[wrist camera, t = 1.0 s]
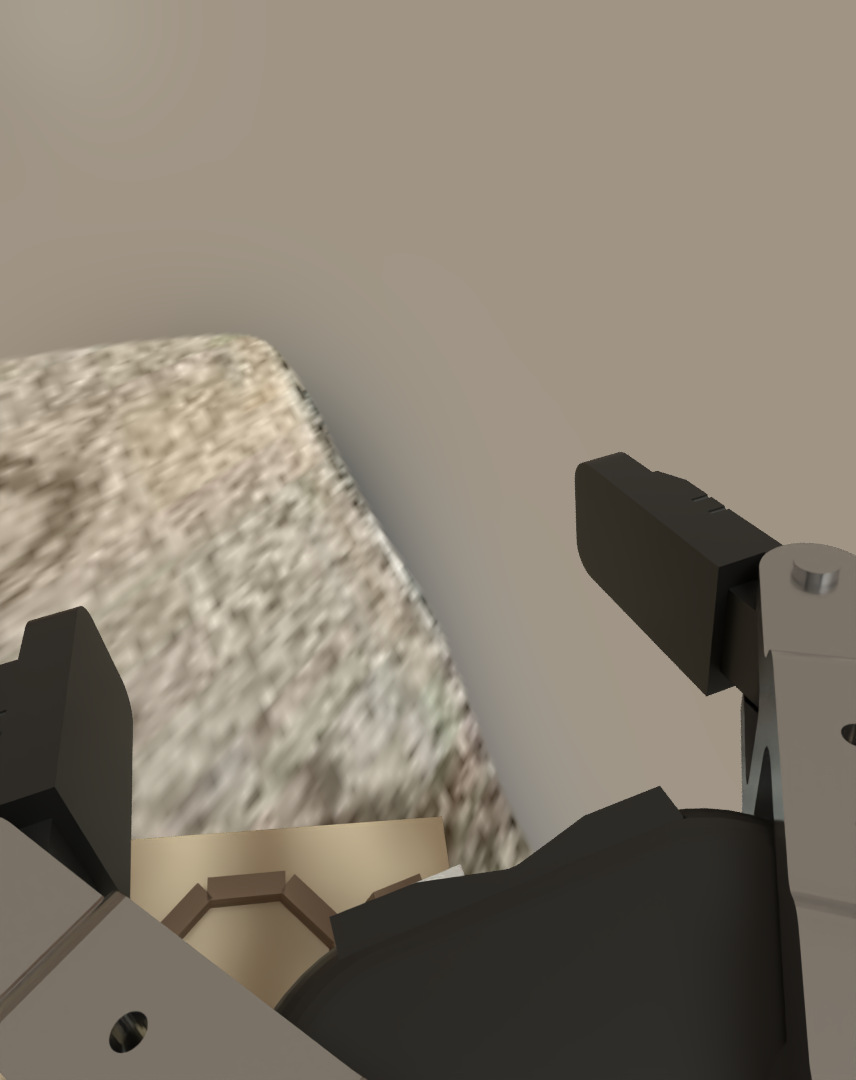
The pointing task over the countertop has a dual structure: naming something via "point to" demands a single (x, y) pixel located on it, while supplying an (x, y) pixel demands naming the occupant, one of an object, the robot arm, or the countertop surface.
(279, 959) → the coupling base
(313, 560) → the countertop surface
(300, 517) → the countertop surface
